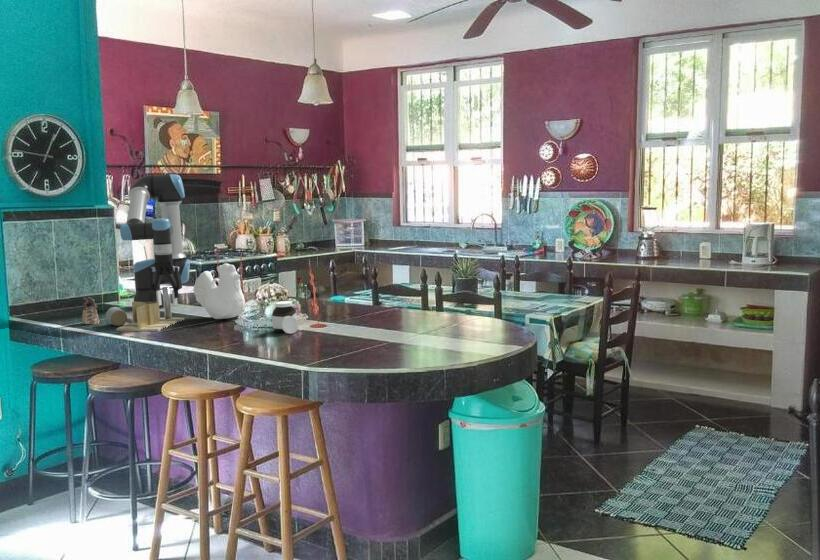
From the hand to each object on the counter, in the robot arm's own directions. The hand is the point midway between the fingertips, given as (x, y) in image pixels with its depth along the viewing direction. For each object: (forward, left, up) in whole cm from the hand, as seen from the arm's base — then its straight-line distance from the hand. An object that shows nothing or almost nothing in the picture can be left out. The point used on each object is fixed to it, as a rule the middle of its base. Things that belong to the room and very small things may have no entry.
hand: (167, 305), depth 345 cm
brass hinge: (+14, -6, -6) cm, 16 cm away
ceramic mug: (+8, -18, -7) cm, 22 cm away
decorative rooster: (-7, +22, -7) cm, 24 cm away
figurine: (+6, -34, -7) cm, 35 cm away
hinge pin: (0, 0, -6) cm, 6 cm away
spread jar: (+23, +63, -7) cm, 67 cm away
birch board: (+10, -3, -7) cm, 13 cm away
